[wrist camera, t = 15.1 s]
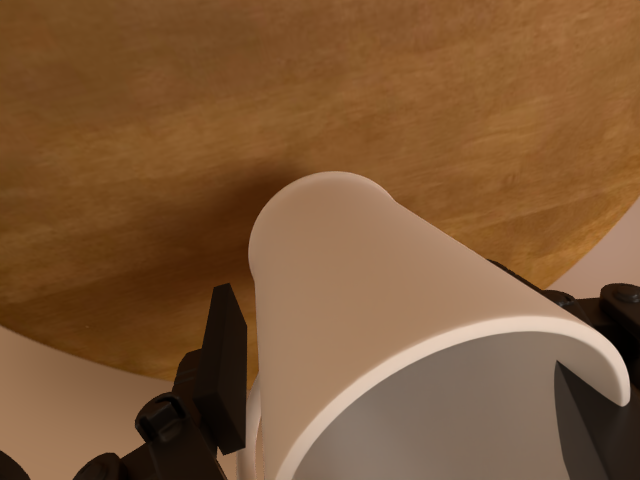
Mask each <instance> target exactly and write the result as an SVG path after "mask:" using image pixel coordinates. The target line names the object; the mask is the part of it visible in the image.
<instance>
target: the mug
mask: <svg viewBox="0 0 640 480" xmlns="http://www.w3.org/2000/svg"><path fill="white" fill-rule="evenodd" d="M248 258H249V266H250V270H251V274H252V277H253V279H254V282H255V297H256V318H257V338H258V359H259V373H258V375H257V377H256V379H255V382H254V384H253V386H252V389H251V391H250V394H249V397H248V400H247V403H246V448H244V449H241V450H238V451H237V453H236V475H237V480H257V476H256V469H255V447H256V438H257V431H258V426H259V422H260V417H261V420H262V440H263V461H264V480H570V478H569V475H568V472H567V469H566V466H565V463H564V461H563V456H562V450H561V444H560V438H559V431H558V425H557V417H556V408H555V397H554V371H555V364H556V360H558V361H559V362H560V363H562V364H563V365H564V366H565V367H567V368H568V369H569V370H570V371H572V372H573V373H574V374H576V375H577V376H578V377H580V378H581V379H582V380H583V381H585V382H586V383H587V384H589V385H590V386H591V387H593V388H594V389H595V390H597V391H598V392H600V393H601V394H602V395H604V396H605V397H607V398H608V399H609V400H611V401H612V402H614V403H616V404H617V405H619V406H622V407H623V406H625V405H626V404H628V402H629V401H630V381H629V376H628V371H627V368H626V365H625V363H624V361H623V359H622V357H621V355H620V354H619V352H618V351H617V349H616V348H615V347H614V346H613V344H612V343H611V342H610V341H609V340H608V339H606V338H605V337H604V336H603V335H602V334H600V333H599V332H598V331H596V330H595V329H593V328H592V327H590V326H589V325H587V324H586V323H584V322H583V321H581V320H580V319H578V318H577V317H575V316H574V315H572V314H570V313H569V312H567V311H566V310H564V309H563V308H561V307H560V306H558V305H556V304H555V303H553V302H552V301H550V300H549V299H547V298H546V297H544V296H542V295H541V294H539V293H538V292H536V291H535V290H533V289H531V288H530V287H528V286H527V285H525V284H524V283H522V282H520V281H519V280H517V279H516V278H514V277H513V276H511V275H510V274H508V273H506V272H505V271H503V270H502V269H500V268H499V267H497V266H495V265H494V264H492V263H491V262H489V261H488V260H486V259H484V258H483V257H481V256H480V255H478V254H477V253H475V252H474V251H472V250H470V249H469V248H467V247H466V246H464V245H463V244H461V243H459V242H458V241H456V240H455V239H453V238H452V237H450V236H449V235H447V234H445V233H444V232H442V231H441V230H439V229H438V228H436V227H434V226H433V225H431V224H430V223H428V222H427V221H425V220H423V219H422V218H420V217H419V216H417V215H416V214H414V213H413V212H411V211H409V210H408V209H406V208H405V207H403V206H402V205H400V204H399V203H397V202H395V201H394V199H393V198H392V197H391V196H390V194H389V193H388V192H387V191H386V190H384V189H383V188H382V187H381V186H380V185H378V184H377V183H375V182H373V181H372V180H370V179H368V178H366V177H363V176H360V175H357V174H354V173H349V172H341V171H328V172H320V173H315V174H311V175H308V176H305V177H303V178H300V179H298V180H296V181H294V182H292V183H290V184H289V185H287V186H286V187H284V188H283V189H281V190H280V191H279V192H278V193H277V194H275V195H274V196H273V197H272V198H271V199H270V200H269V202H268V203H267V204H266V205H265V206H264V208H263V209H262V211H261V212H260V214H259V216H258V217H257V219H256V221H255V224H254V226H253V229H252V232H251V236H250V240H249V249H248Z"/></svg>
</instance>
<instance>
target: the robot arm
mask: <svg viewBox="0 0 640 480" xmlns="http://www.w3.org/2000/svg"><path fill="white" fill-rule="evenodd" d="M486 260H488V261H489V262H491V263H492V264H494V265H495V266H497V267H499V268H500V269H502V270H503V271H505V272H506V273H508V274H510V275H511V276H513V277H514V278H516V279H517V280H519V281H520V282H522V283H524V284H525V285H527V286H528V287H530V288H531V289H533V290H535V291H536V292H538V293H539V294H541V295H542V296H544V297H546V298H547V299H549V300H550V301H552V302H553V303H555V304H556V305H558V306H560V307H561V308H563V309H564V310H566V311H567V312H569V313H570V314H572V315H574V316H575V317H577V318H578V319H580V320H581V321H583V322H584V323H586V324H587V325H589V326H590V327H592V328H593V329H595V330H596V331H598V332H599V333H600V334H602V335H603V336H604V337H605V338H606V339H608V340H609V341H610V342H611V343H612V344H613V346H614V347H615V348H616V349H617V351H618V352H619V354H620V355H621V357H622V359H623V361H624V363H625V365H626V368H627V371H628V376H629V381H630V401H629V402H628V404H626V405H625V406H623V407H622V406H619V405H617V404H616V403H614V402H612V401H611V400H609V399H608V398H607V397H605V396H604V395H602V394H601V393H600V392H598V391H597V390H595V389H594V388H593V387H591V386H590V385H589V384H587V383H586V382H585V381H583V380H582V379H581V378H580V377H578V376H577V375H576V374H574V373H573V372H572V371H570V370H569V369H568V368H567V367H565V366H564V365H563V364H562V363H560V362H559V361H558V360H556V364H555V371H554V397H555V408H556V417H557V425H558V431H559V438H560V444H561V450H562V456H563V461H564V463H565V466H566V469H567V472H568V475H569V478H570V480H640V287H638V286H634V285H631V284H624V283H615V284H609V285H605V286H604V287H603V288H602V289H601V292H600V297H599V298H587V299H575V298H574V297H573V296H571V295H569V294H567V293H564V292H560V291H555V290H541V289H539V288H538V287H536V286H534V285H533V284H531V283H530V282H528V281H527V280H525V279H523V278H522V277H520V276H519V275H516V274H515V273H514V272H512V271H511V270H508V269H507V268H506V267H505V266H503V265H501V264H500V263H498V262H495V261H492V260H489V259H486ZM176 375H177V377H176V378H175V381H174V386H173V388H172V392H167V393H163V394H161V395H159V396H157V397H155V398H153V399H152V400H151V401H149V402H148V403H147V404H146V405H145V406H144V407H143V408H142V409H141V410H140V412H139V413H138V415H137V417H136V420H135V428H136V429H137V431H138V432H139V434H140V435H141V437H142V438H143V439H144V441H145V442H146V443H145V444H143V445H142V446H140V447H139V448H137V449H136V450H134V451H132V452H131V453H129V454H127V455H126V456H124V457H123V458H121V459H120V458H119V457H118V456H117V455H116V454H115V453H104V454H102V455H99V456H97V457H95V458H94V459H93V460H91V461H89V462H88V463H87V464H86V465H85V466H84V467H83V468H82V469H80V471H79V472H78V473H77V474H76V476H75V477H74V478H73V480H227V477H226V476H225V474H224V472H223V470H222V468H221V466H220V464H219V463H218V461H217V459H216V458H217V447H219V449H220V450H221V452H222V454H223V455H226V454H229V453H232V452H235V451H238V450H241V449H244V448H246V384H247V325H246V322H245V320H244V317H243V315H242V313H241V310H240V308H239V305H238V303H237V300H236V298H235V295H234V293H233V290H232V288H231V285H230V283H227V284H223V285H220V286H217V287H214V289H213V294H212V299H211V304H210V309H209V315H208V320H207V325H206V330H205V335H204V340H203V345H202V348H201V349H198V350H195V351H192V352H189V353H187V354H186V355H185V356H184V358H183V359H182V361H181V362H180V364H179V367H178V370H177V374H176Z"/></svg>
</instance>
